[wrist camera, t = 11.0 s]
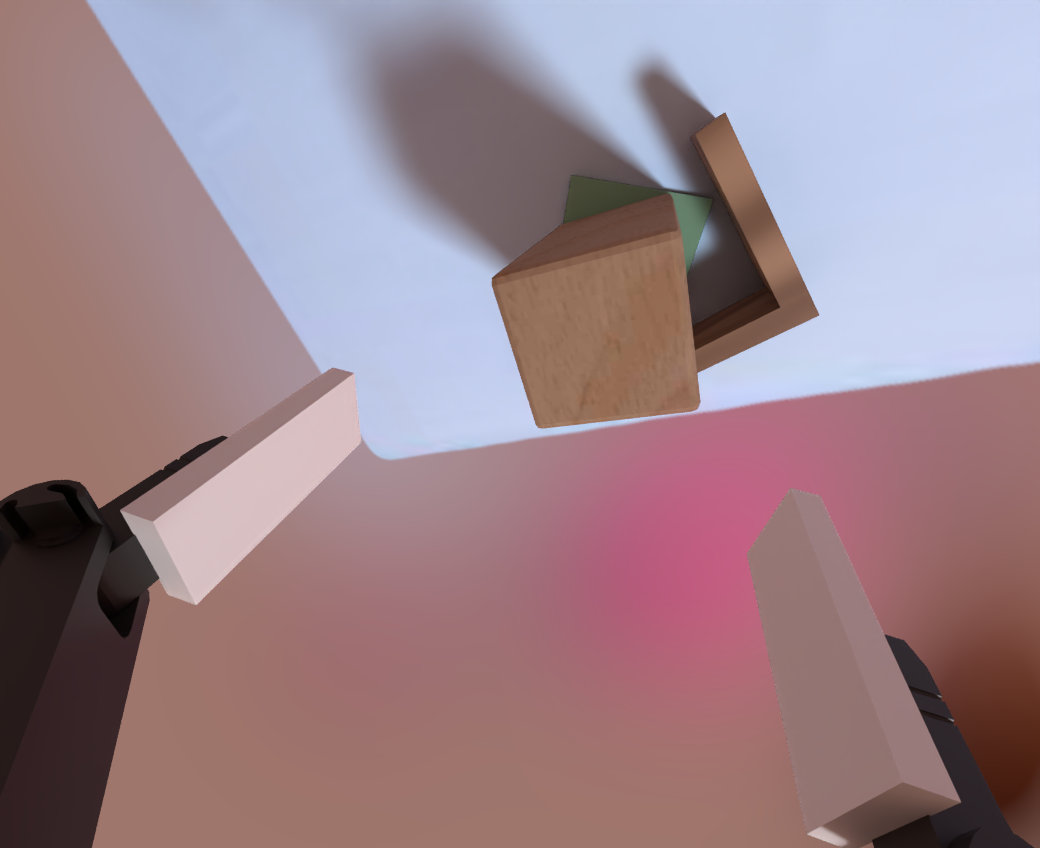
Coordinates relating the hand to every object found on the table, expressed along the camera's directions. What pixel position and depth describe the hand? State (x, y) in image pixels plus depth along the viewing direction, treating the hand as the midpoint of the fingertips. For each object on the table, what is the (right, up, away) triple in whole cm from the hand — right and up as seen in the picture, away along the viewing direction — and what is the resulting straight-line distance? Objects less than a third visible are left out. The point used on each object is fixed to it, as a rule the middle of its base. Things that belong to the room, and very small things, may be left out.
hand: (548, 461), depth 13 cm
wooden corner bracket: (+11, +15, +27) cm, 33 cm away
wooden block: (+9, +16, +27) cm, 33 cm away
